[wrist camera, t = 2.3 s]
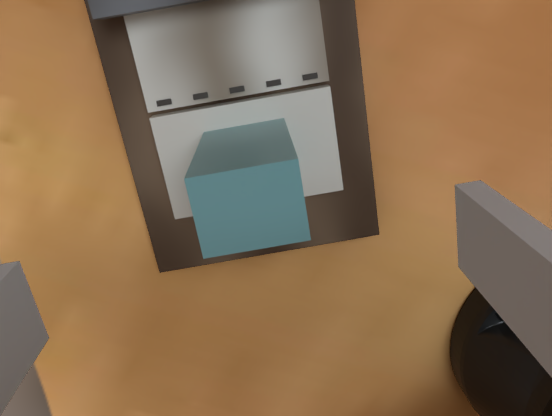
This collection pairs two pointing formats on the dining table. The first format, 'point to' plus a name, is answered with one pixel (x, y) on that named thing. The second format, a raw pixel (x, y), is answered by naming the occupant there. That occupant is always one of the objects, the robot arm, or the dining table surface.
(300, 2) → the board
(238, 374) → the dining table surface
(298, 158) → the teal cube on panel
